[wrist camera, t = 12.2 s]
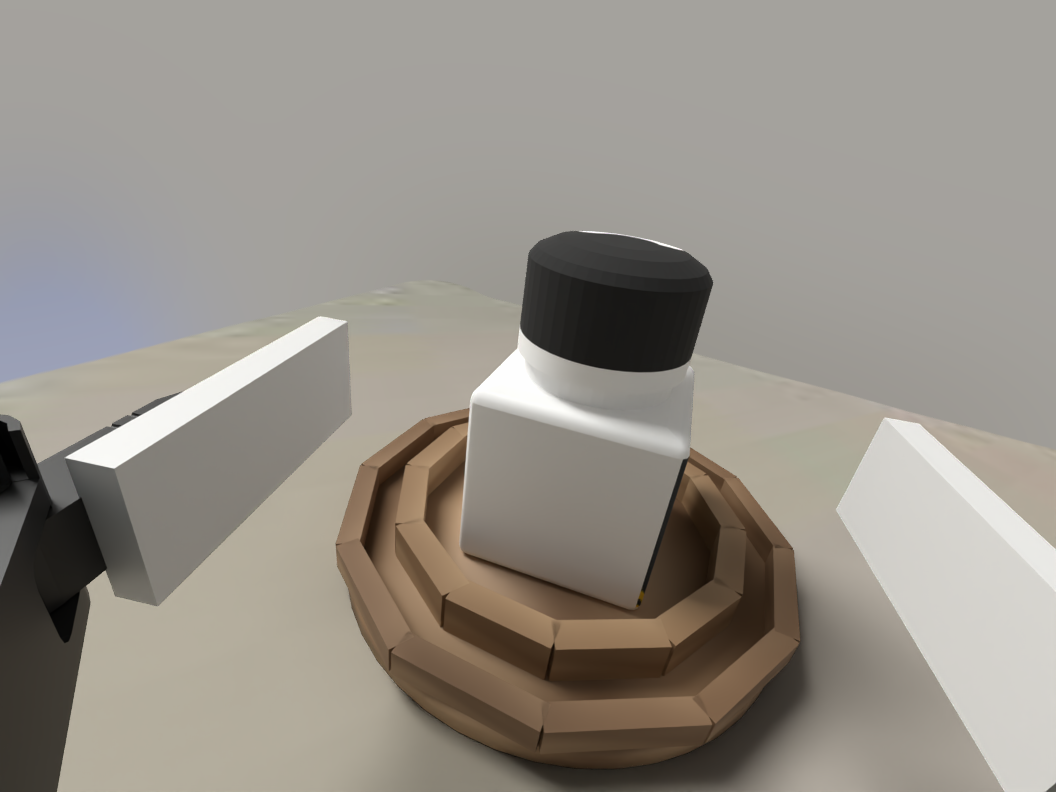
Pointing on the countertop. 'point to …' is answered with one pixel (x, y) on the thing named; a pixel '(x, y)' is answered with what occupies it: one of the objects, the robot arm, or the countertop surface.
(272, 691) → the countertop surface
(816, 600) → the countertop surface
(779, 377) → the countertop surface
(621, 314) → the medicine bottle
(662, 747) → the walnut tray
